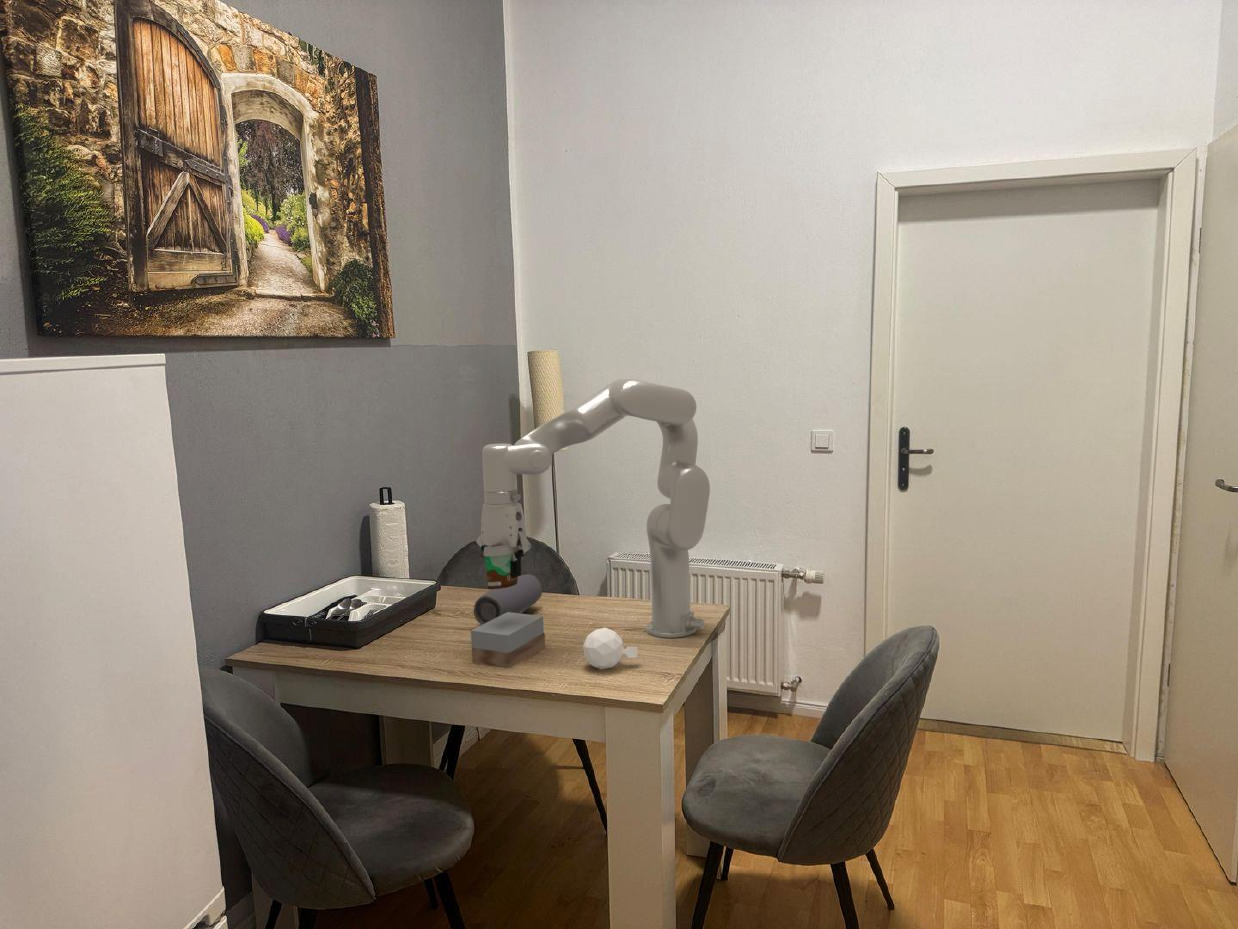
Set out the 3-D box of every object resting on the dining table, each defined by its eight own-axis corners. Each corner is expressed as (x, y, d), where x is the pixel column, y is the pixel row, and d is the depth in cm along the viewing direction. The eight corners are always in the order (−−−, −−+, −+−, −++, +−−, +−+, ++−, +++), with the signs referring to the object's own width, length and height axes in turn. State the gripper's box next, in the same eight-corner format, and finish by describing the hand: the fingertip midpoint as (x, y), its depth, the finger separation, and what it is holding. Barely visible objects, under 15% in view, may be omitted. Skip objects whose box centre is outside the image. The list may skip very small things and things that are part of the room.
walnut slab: (545, 649, 204) (544, 633, 203) (508, 670, 191) (507, 653, 190) (510, 644, 209) (510, 628, 208) (472, 664, 196) (471, 647, 195)
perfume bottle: (580, 668, 184) (636, 673, 184) (584, 625, 185) (639, 630, 186) (580, 667, 192) (634, 671, 193) (584, 625, 194) (637, 630, 194)
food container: (511, 591, 191) (509, 547, 190) (485, 590, 192) (483, 547, 191) (530, 577, 203) (528, 536, 201) (505, 576, 204) (503, 535, 203)
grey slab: (543, 632, 204) (543, 616, 203) (508, 653, 190) (507, 635, 190) (508, 628, 208) (507, 612, 208) (471, 647, 195) (470, 630, 194)
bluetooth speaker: (514, 606, 239) (513, 571, 238) (544, 608, 236) (543, 573, 235) (472, 631, 218) (470, 592, 217) (504, 634, 215) (502, 595, 214)
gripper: (541, 497, 194) (544, 575, 196) (482, 493, 203) (486, 568, 205) (521, 502, 188) (524, 583, 190) (461, 498, 197) (465, 575, 199)
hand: (504, 574), depth 198 cm, fingers closed on food container, 5 cm apart
